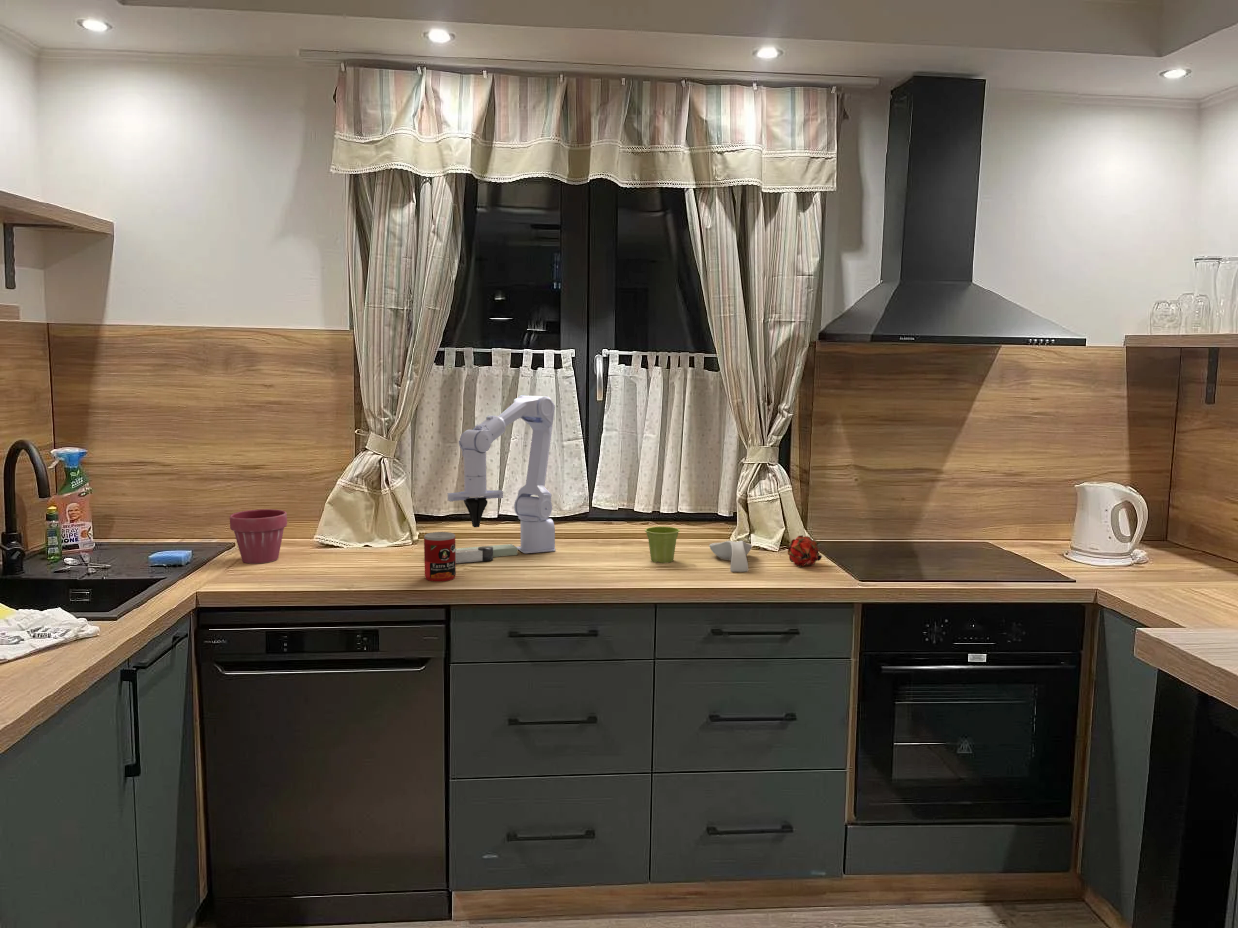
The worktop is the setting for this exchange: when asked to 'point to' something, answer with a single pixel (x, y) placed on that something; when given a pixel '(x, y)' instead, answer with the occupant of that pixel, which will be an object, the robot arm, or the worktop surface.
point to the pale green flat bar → (499, 550)
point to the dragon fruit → (803, 551)
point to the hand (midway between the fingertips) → (475, 526)
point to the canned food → (440, 556)
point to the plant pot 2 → (662, 543)
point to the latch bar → (474, 554)
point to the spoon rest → (733, 554)
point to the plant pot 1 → (259, 534)
